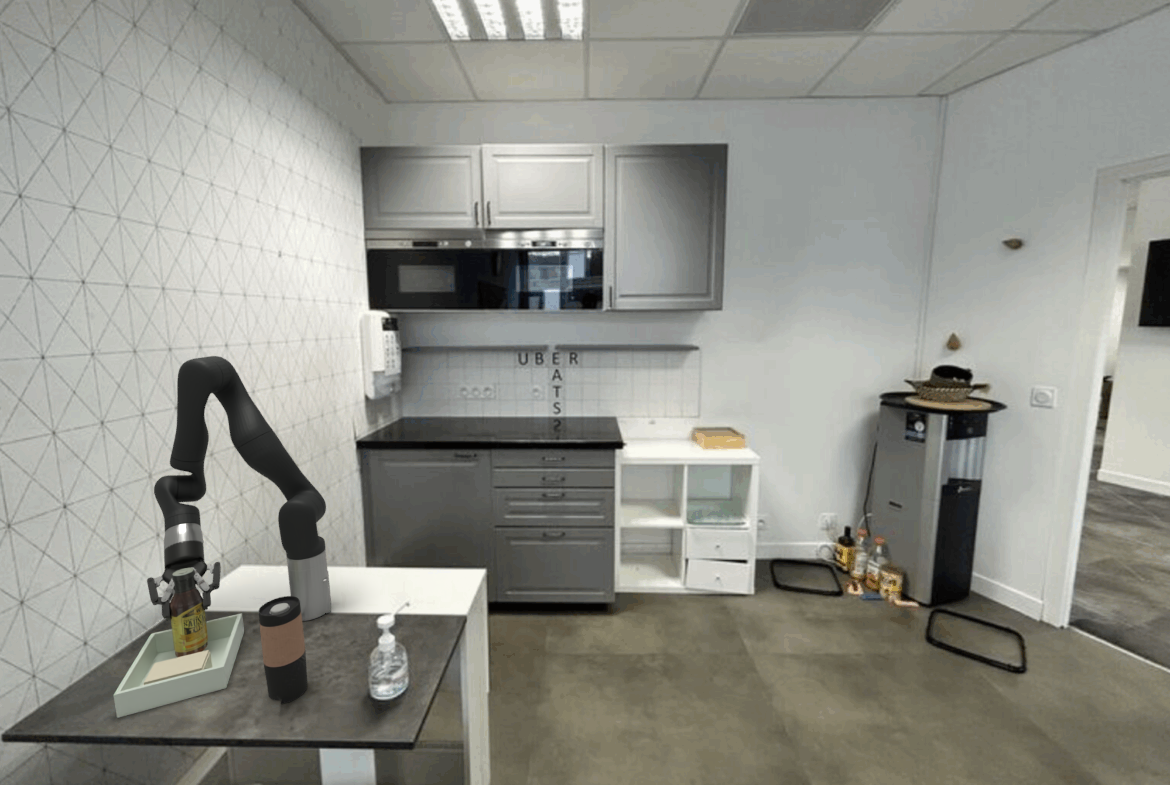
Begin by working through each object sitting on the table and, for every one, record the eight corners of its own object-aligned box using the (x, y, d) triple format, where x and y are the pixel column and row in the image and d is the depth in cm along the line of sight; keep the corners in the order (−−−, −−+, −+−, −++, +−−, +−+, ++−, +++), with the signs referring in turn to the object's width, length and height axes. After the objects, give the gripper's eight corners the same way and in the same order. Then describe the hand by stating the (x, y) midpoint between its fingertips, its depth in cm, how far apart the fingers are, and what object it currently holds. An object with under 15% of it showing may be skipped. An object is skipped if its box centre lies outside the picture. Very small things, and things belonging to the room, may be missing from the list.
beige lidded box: (212, 669, 112) (210, 649, 112) (205, 689, 106) (202, 668, 105) (156, 683, 108) (153, 662, 107) (145, 705, 102) (142, 683, 101)
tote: (244, 635, 126) (241, 613, 125) (226, 691, 107) (223, 666, 106) (154, 656, 118) (151, 633, 118) (117, 722, 99) (113, 695, 98)
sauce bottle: (190, 661, 113) (178, 581, 110) (168, 658, 114) (155, 578, 111) (216, 643, 119) (205, 566, 116) (195, 640, 121) (184, 564, 118)
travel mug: (282, 678, 110) (273, 595, 108) (316, 679, 110) (307, 595, 107) (259, 705, 103) (248, 616, 100) (295, 705, 103) (285, 616, 100)
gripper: (142, 548, 115) (142, 620, 107) (218, 532, 123) (224, 597, 116) (148, 561, 120) (149, 630, 112) (221, 545, 128) (227, 608, 121)
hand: (187, 613), depth 114 cm, fingers closed on sauce bottle, 6 cm apart
